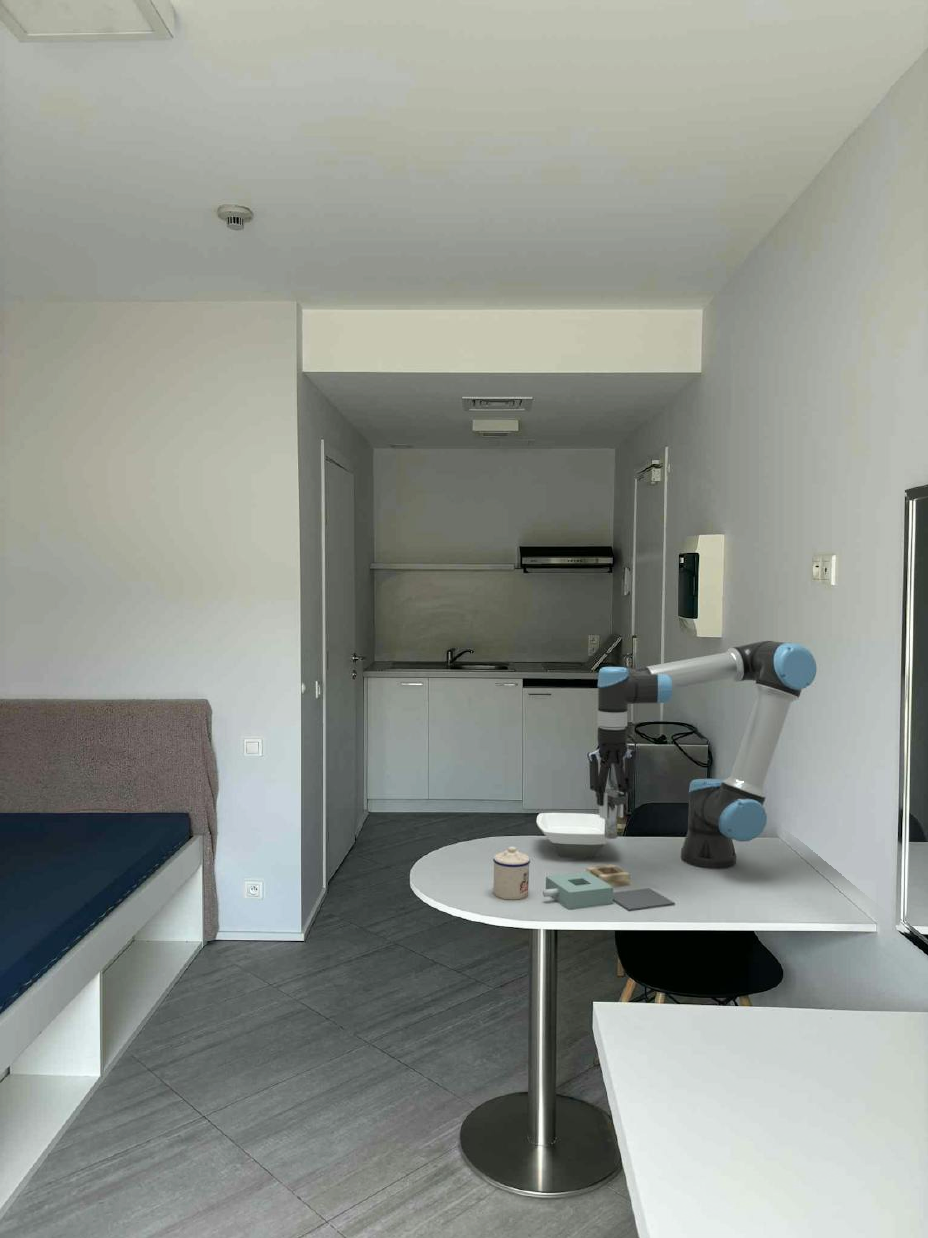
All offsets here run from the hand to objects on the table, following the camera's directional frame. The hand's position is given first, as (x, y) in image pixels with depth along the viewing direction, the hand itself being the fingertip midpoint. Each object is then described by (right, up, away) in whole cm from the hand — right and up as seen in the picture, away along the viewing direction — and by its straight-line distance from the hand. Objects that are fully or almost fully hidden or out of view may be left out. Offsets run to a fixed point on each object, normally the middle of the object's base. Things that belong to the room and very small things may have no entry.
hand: (611, 817), depth 229 cm
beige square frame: (-1, -17, +1) cm, 17 cm away
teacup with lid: (-26, -17, -9) cm, 32 cm away
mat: (+5, -18, -12) cm, 22 cm away
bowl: (-6, -16, +27) cm, 32 cm away
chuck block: (-11, -17, -12) cm, 24 cm away
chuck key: (0, -5, 0) cm, 5 cm away
